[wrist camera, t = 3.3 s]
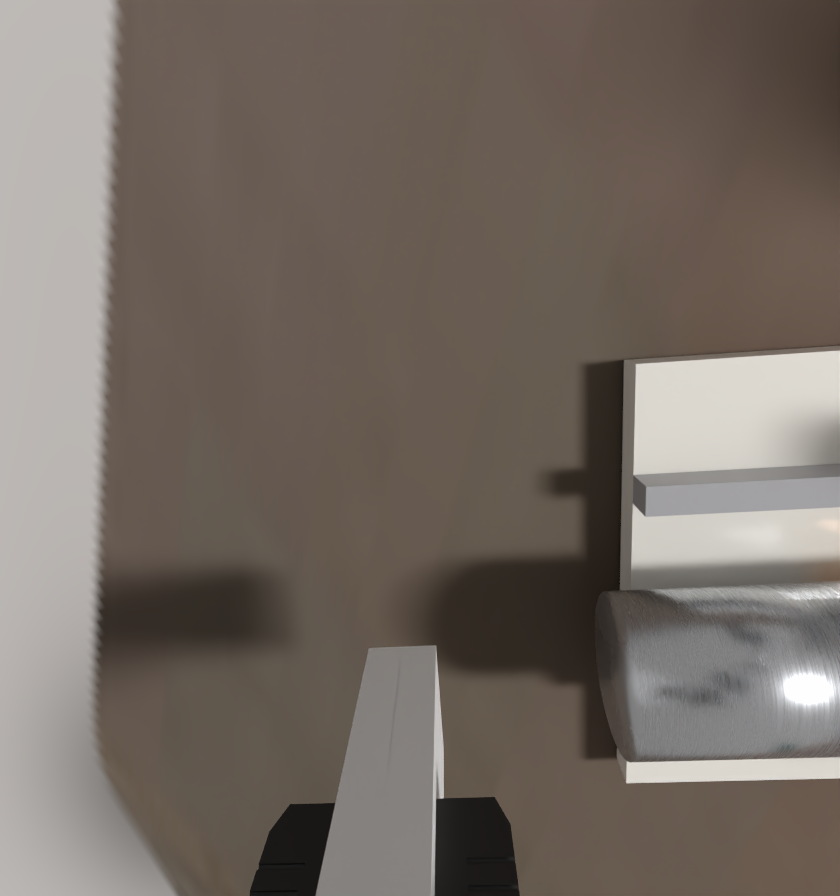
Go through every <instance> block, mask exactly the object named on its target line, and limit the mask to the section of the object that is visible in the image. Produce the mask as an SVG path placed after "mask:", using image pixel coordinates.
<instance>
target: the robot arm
mask: <svg viewBox="0 0 840 896" xmlns="http://www.w3.org/2000/svg"><path fill="white" fill-rule="evenodd" d="M250 896H520V895H519V889H518V879H517V872H516V864H515V856H514V849H513V841H512V833H511V825H510V823H509V821H508V819H507V818H506V816H505V814H504V812H503V811H502V809H501V807H500V806H499V804H498V802H497V801H496V799H495V797H483V798H444V748H443V735H442V721H441V707H440V693H439V680H438V666H437V652H436V645H433V646H408V647H384V648H369V650H368V655H367V659H366V664H365V669H364V673H363V678H362V683H361V687H360V692H359V696H358V701H357V706H356V710H355V715H354V720H353V724H352V729H351V733H350V738H349V743H348V747H347V752H346V757H345V761H344V766H343V771H342V775H341V780H340V784H339V789H338V794H337V798H336V803H325V804H290V805H289V807H288V808H287V809H286V811H285V812H284V813H283V815H282V816H281V817H280V818H279V820H278V821H277V822H276V824H275V825H274V826H273V828H272V829H271V830H270V832H269V835H268V838H267V841H266V844H265V847H264V850H263V853H262V856H261V859H260V862H259V869H258V870H257V871H256V874H255V877H254V880H253V883H252V886H251V889H250Z"/></svg>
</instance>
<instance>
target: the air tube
mask: <svg viewBox="0 0 840 896" xmlns="http://www.w3.org/2000/svg"><path fill="white" fill-rule="evenodd" d="M594 631H595V652H596V663H597V671H598V678H599V684H600V690H601V695H602V700H603V704H604V709H605V713H606V717H607V720H608V724H609V727H610V730H611V733H612V736H613V739H614V741H615V743H616V746H617V748H618V750H619V752H620V753H621V755H622V756H623V758H624V759H625V760H626V761H628V762H666V761H706V760H747V759H787V758H827V757H840V581H832V582H808V583H785V584H762V585H738V586H715V587H691V588H668V589H644V590H621V591H604V592H602V593H601V594H600V596H599V598H598V601H597V605H596V611H595V628H594Z"/></svg>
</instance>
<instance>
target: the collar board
mask: <svg viewBox="0 0 840 896" xmlns="http://www.w3.org/2000/svg"><path fill="white" fill-rule="evenodd" d="M832 581H840V346H826V347H811V348H796V349H781V350H766V351H751V352H736V353H721V354H706V355H691V356H676V357H661V358H646V359H631V360H624V388H623V444H622V499H621V554H620V591H621V590H644V589H668V588H691V587H715V586H738V585H762V584H785V583H808V582H832ZM617 760H618V762H619V765H620V768H621V771H622V773H623V776H624V779H625V781H626V783H653V782H697V781H741V780H785V779H829V778H840V757H827V758H787V759H747V760H706V761H666V762H628V761H626V760H625V759H624V758H623V756H622V755H621V753H620V752H619V750H618V748H617Z"/></svg>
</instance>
